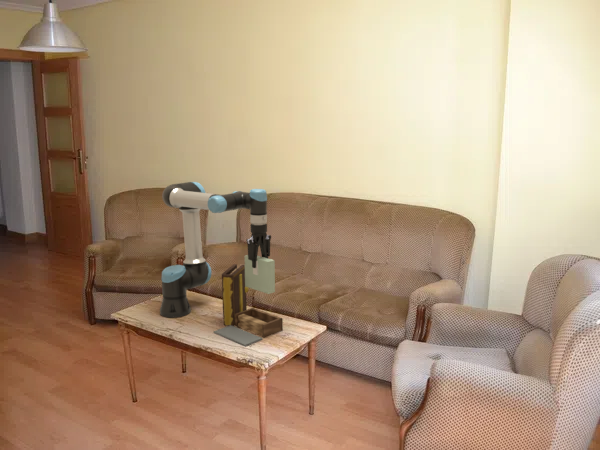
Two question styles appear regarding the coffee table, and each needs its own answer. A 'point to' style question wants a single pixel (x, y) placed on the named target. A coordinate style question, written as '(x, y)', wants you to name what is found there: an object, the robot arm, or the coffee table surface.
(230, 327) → the mat
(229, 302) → the book
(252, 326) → the brown wooden bar
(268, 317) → the frame
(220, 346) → the coffee table surface
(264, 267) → the pale green slab
